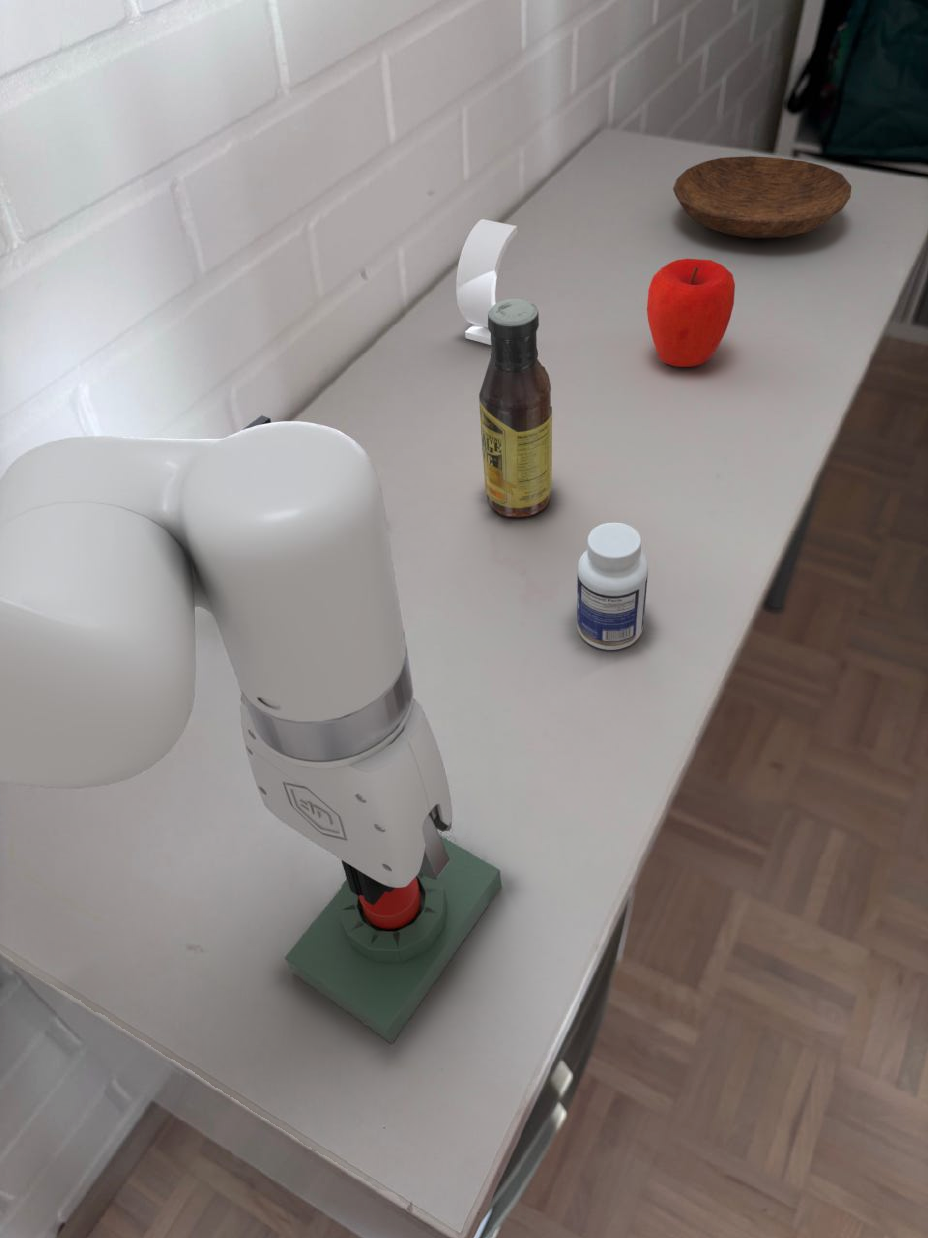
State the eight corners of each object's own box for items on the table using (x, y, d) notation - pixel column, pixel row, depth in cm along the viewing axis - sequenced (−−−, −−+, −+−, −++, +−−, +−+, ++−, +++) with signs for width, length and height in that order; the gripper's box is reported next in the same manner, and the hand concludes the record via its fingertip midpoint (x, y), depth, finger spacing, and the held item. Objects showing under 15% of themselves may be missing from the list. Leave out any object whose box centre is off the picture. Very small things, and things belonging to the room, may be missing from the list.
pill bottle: (597, 595, 80) (600, 507, 73) (654, 619, 78) (663, 530, 71) (564, 636, 77) (564, 547, 70) (622, 662, 75) (628, 573, 68)
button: (397, 940, 57) (393, 927, 55) (351, 910, 58) (346, 897, 57) (432, 893, 59) (429, 880, 57) (386, 865, 60) (383, 851, 59)
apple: (665, 391, 100) (674, 295, 92) (629, 351, 106) (634, 258, 98) (740, 371, 101) (755, 275, 94) (700, 332, 107) (711, 239, 99)
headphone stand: (521, 326, 111) (517, 226, 102) (494, 351, 108) (488, 249, 99) (487, 318, 113) (481, 218, 104) (460, 342, 110) (451, 241, 101)
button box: (392, 1044, 56) (382, 1018, 53) (291, 972, 60) (277, 944, 57) (501, 886, 63) (498, 855, 60) (405, 829, 66) (398, 798, 63)
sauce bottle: (482, 484, 92) (467, 292, 77) (546, 475, 92) (543, 282, 77) (491, 528, 87) (476, 333, 73) (558, 519, 87) (557, 323, 73)
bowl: (826, 270, 115) (835, 229, 111) (651, 247, 122) (653, 208, 119) (856, 202, 126) (864, 164, 123) (694, 185, 134) (697, 148, 130)
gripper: (154, 670, 44) (244, 866, 57) (410, 820, 38) (444, 1002, 51) (263, 574, 48) (323, 778, 61) (511, 694, 42) (519, 893, 55)
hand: (378, 879), depth 56 cm, fingers closed
